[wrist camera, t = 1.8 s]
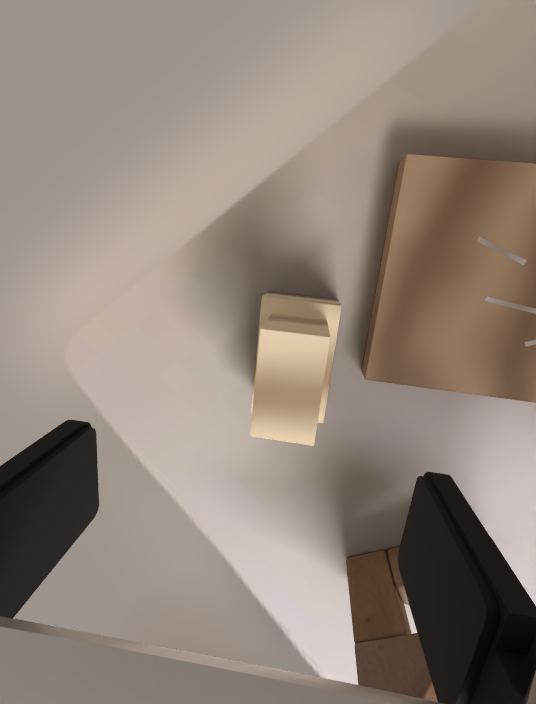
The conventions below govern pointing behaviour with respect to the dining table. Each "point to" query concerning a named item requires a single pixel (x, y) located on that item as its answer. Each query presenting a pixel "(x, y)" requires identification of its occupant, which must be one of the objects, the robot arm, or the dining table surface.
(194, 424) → the dining table surface
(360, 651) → the wooden block
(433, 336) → the walnut board
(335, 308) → the block
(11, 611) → the robot arm
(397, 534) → the dining table surface
